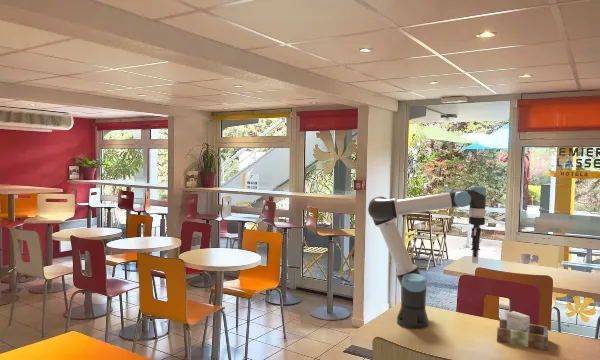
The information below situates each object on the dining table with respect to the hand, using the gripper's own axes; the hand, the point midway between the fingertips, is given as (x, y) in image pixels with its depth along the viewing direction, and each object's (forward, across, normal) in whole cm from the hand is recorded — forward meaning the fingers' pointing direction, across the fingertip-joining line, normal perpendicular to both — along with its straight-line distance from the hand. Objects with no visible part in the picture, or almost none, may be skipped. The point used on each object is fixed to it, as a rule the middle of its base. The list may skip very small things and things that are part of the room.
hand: (474, 262), depth 234 cm
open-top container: (+29, -17, -23) cm, 41 cm away
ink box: (+30, -17, -22) cm, 40 cm away
